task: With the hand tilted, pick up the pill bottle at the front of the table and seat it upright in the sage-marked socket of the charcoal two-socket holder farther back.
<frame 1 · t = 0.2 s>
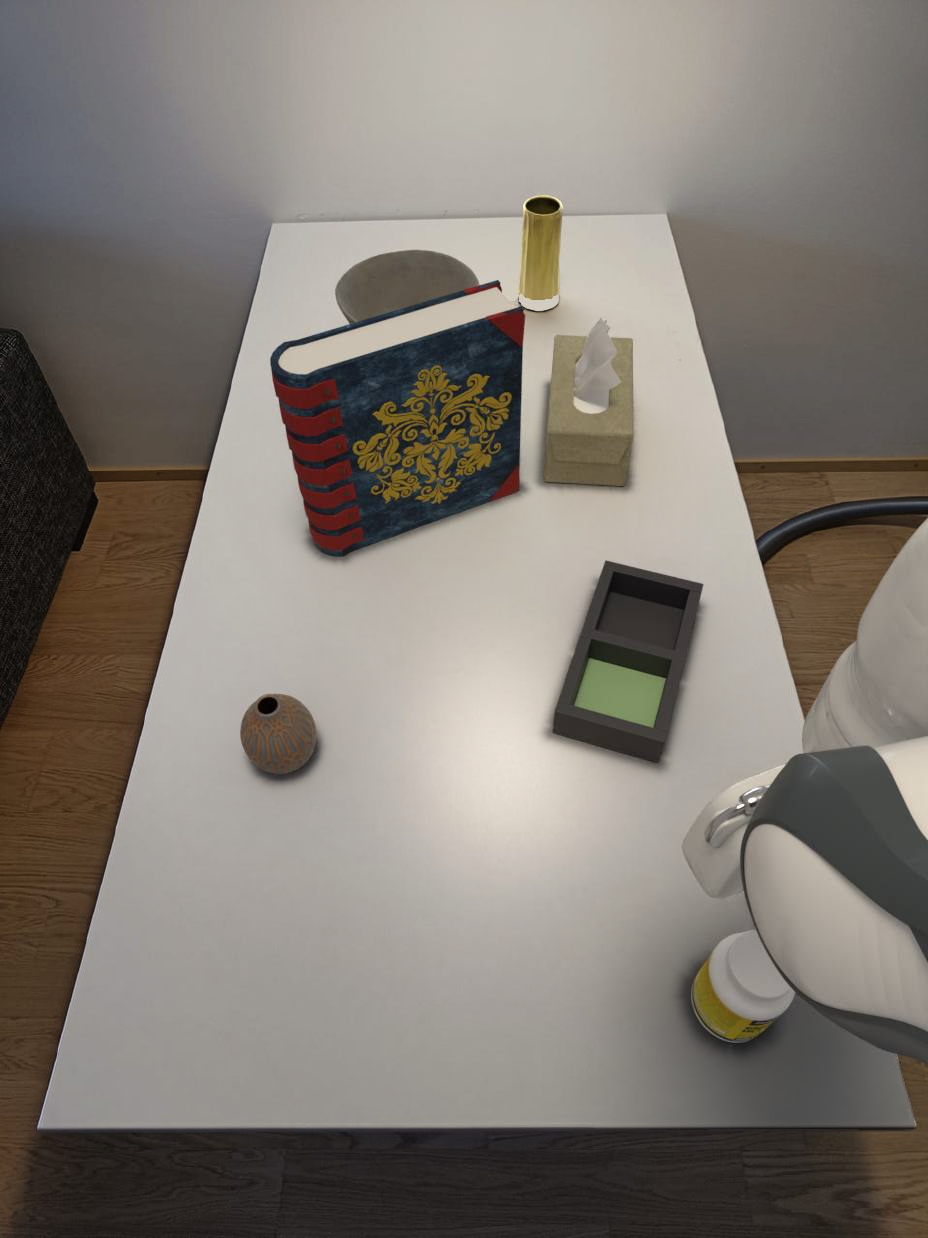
hand: (819, 849, 55), 22 cm above the table, tool pointing down, fingers open, 8 cm apart
bowl: (413, 353, 123), on the table
vase 2: (538, 301, 129), on the table
pill bottle: (728, 1003, 71), on the table
book: (414, 510, 105), on the table
tissue box: (586, 435, 112), on the table
vase: (286, 753, 86), on the table
holder: (627, 667, 90), on the table
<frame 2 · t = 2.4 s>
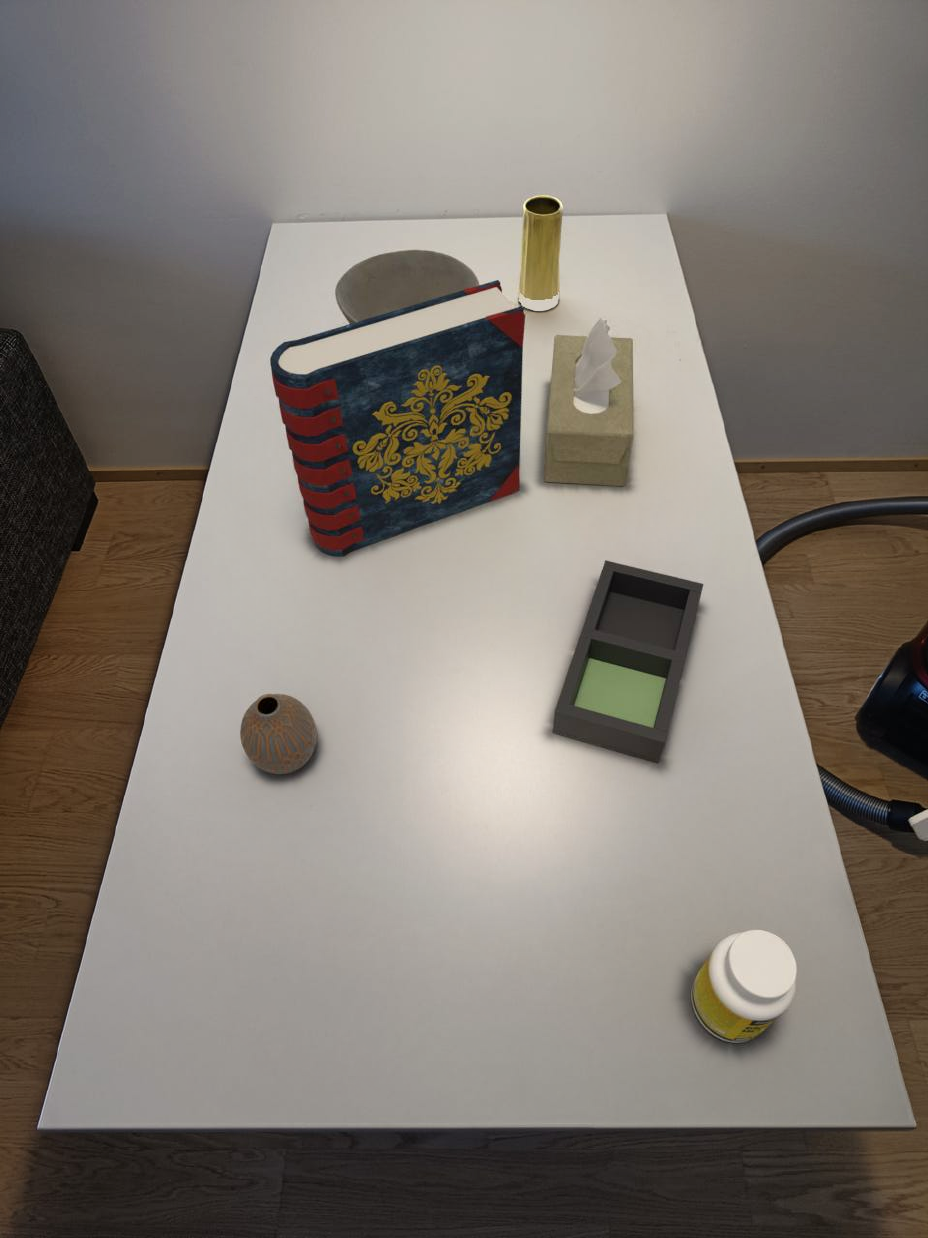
nothing on the table moved.
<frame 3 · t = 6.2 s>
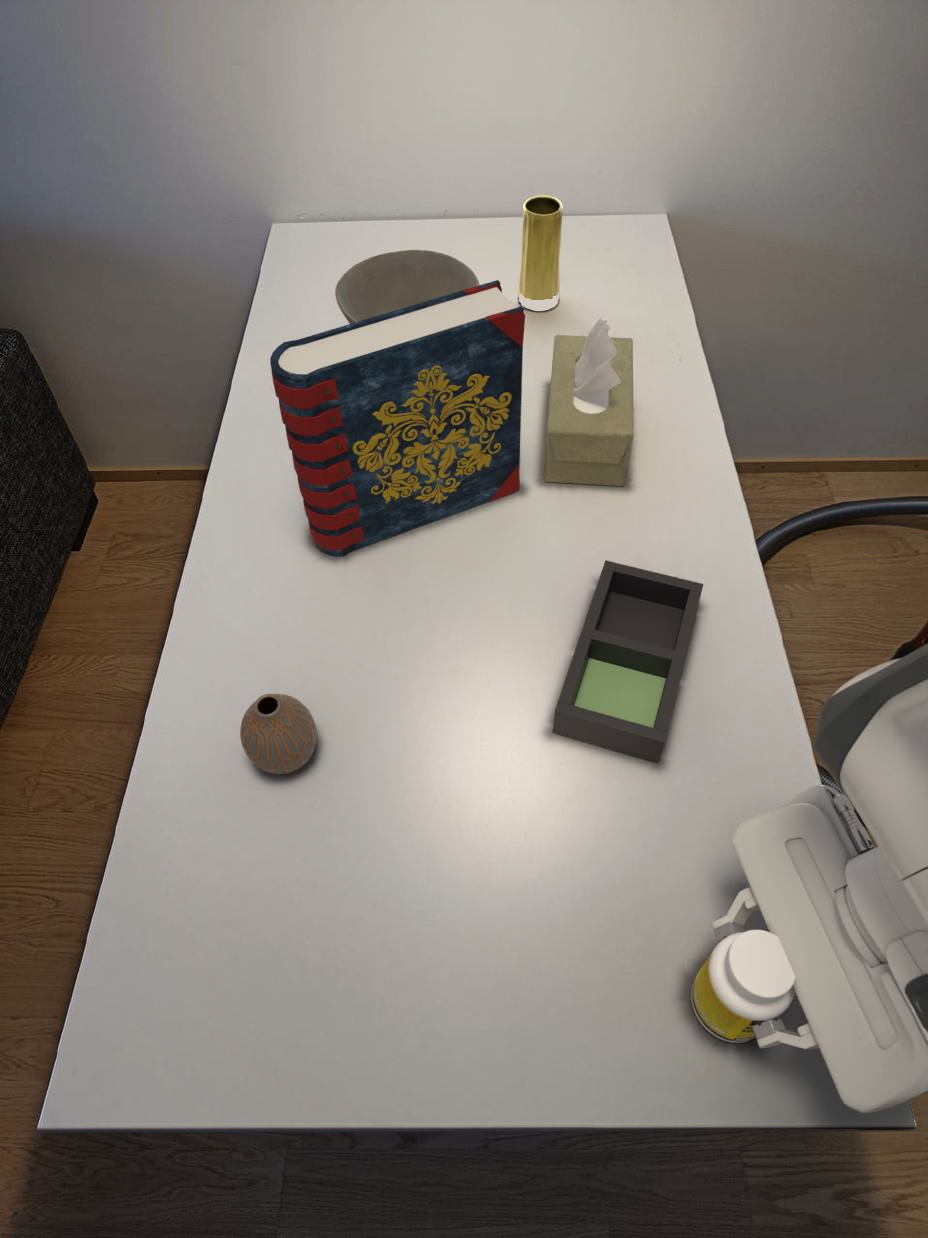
hand: (738, 984, 66), 6 cm above the table, tool tilted 45°, fingers closed on pill bottle, 6 cm apart
pill bottle: (728, 1003, 71), on the table, touching gripper
everything else where it was.
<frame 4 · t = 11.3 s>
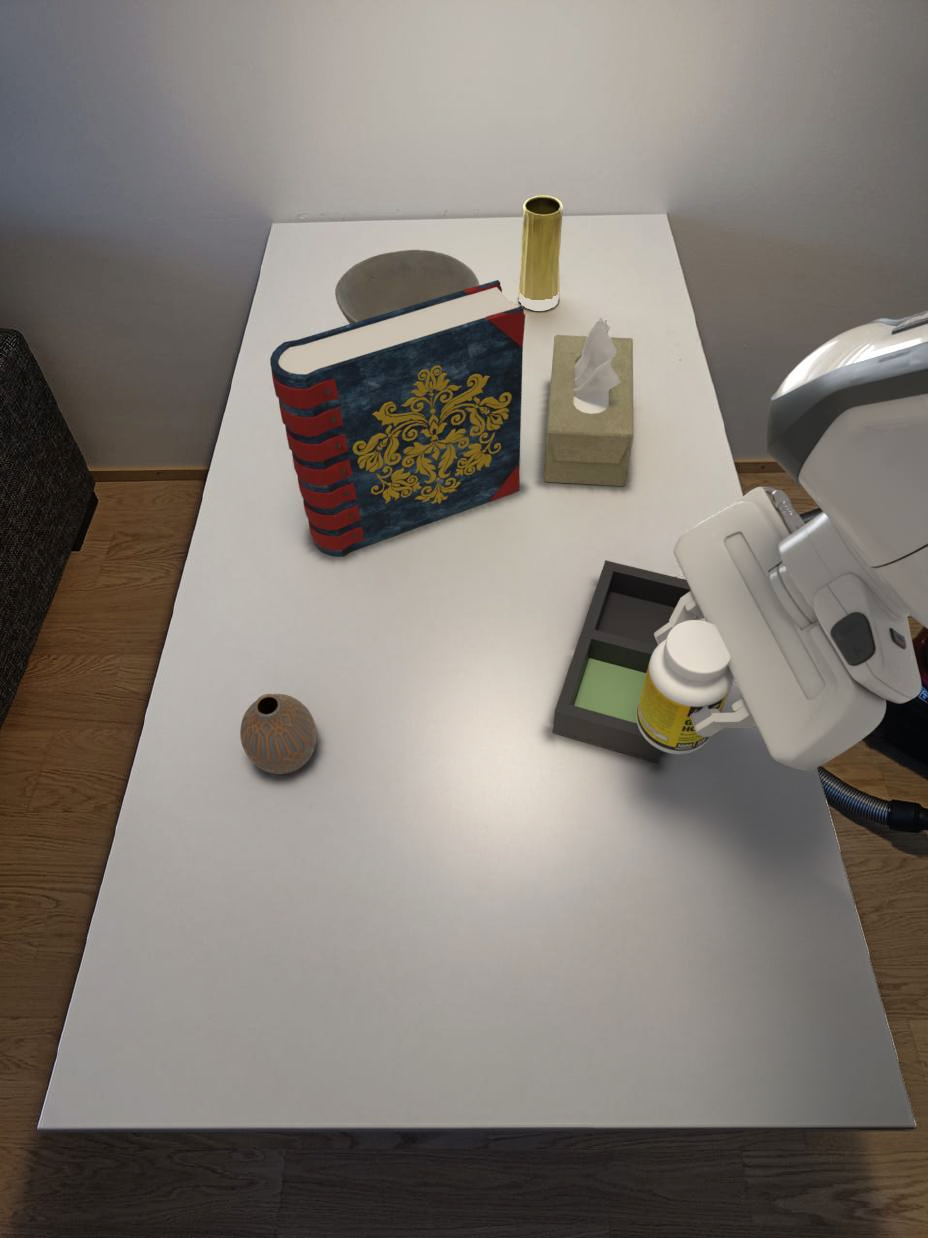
hand: (678, 685, 67), 19 cm above the table, tool tilted 45°, fingers closed on pill bottle, 6 cm apart
pill bottle: (673, 724, 72), point 13 cm above the table, touching gripper
everything else where it was.
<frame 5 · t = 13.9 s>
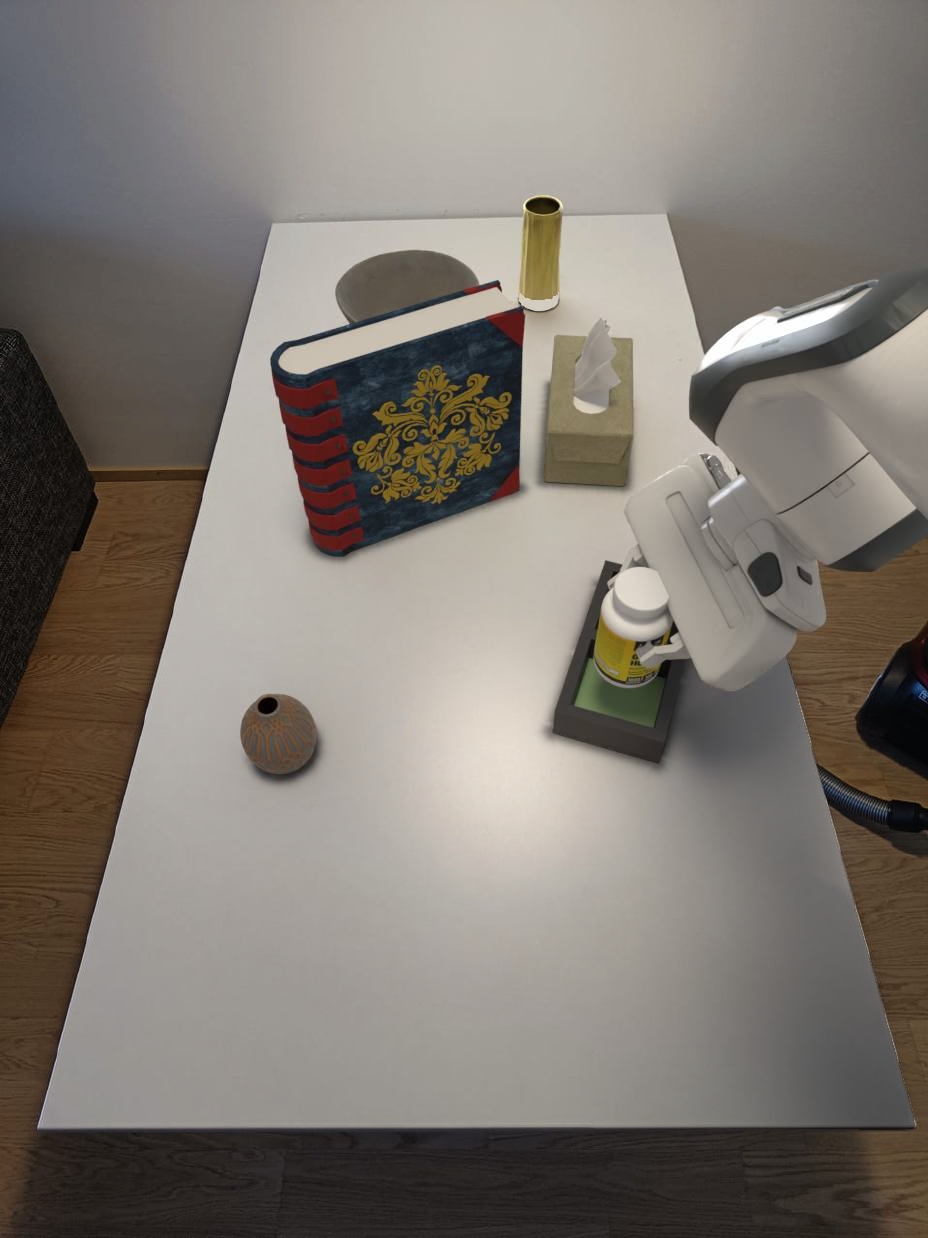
hand: (627, 625, 77), 13 cm above the table, tool tilted 45°, fingers closed on pill bottle, 6 cm apart
pill bottle: (626, 663, 82), point 7 cm above the table, touching gripper
everything else where it was.
when the fingers open (7 cm above the table, at t = 16.3 s): pill bottle stays where it is, resting on holder.
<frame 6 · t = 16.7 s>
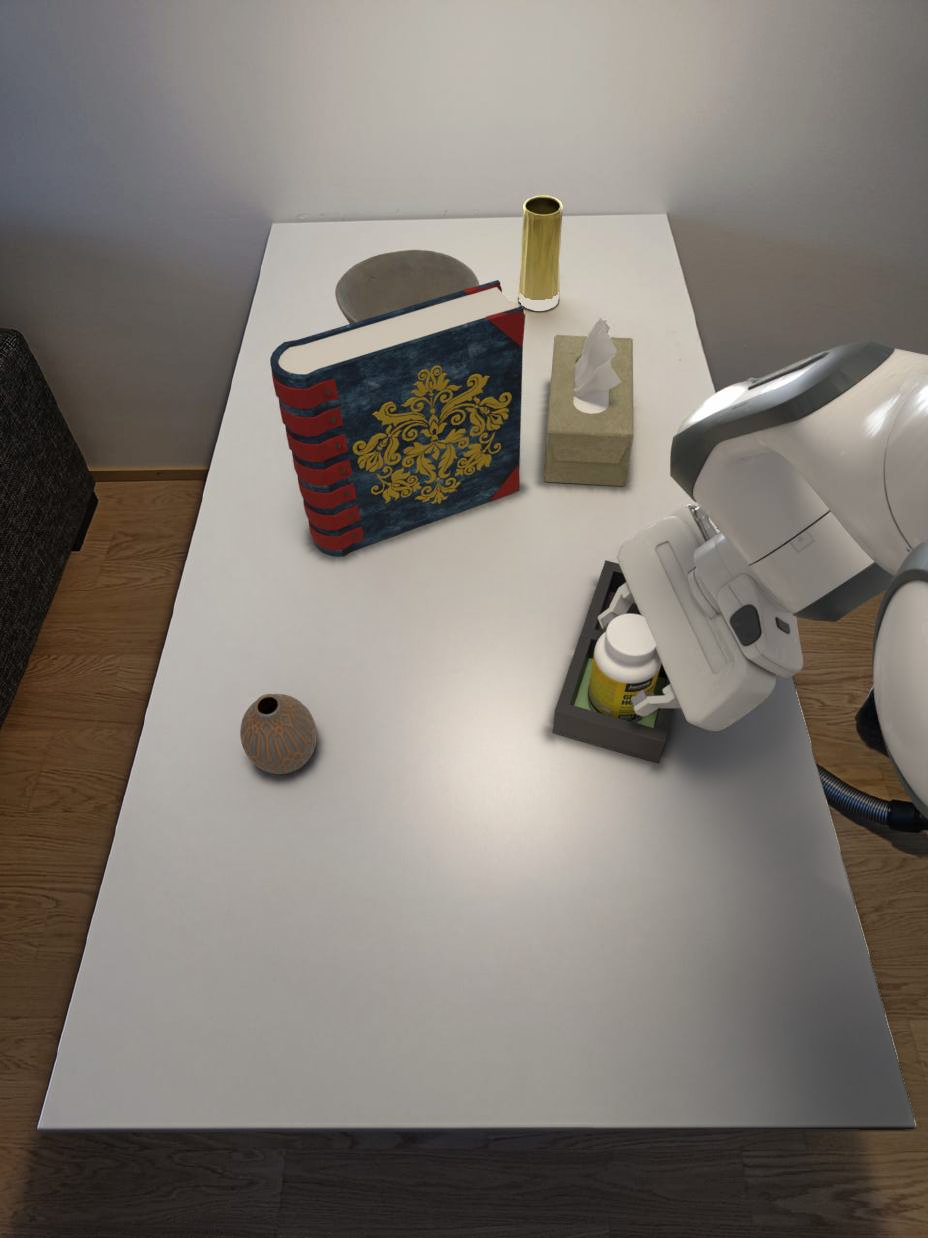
hand: (619, 666, 82), 7 cm above the table, tool tilted 45°, fingers open, 8 cm apart
pill bottle: (618, 700, 87), point 1 cm above the table, touching holder
everything else where it was.
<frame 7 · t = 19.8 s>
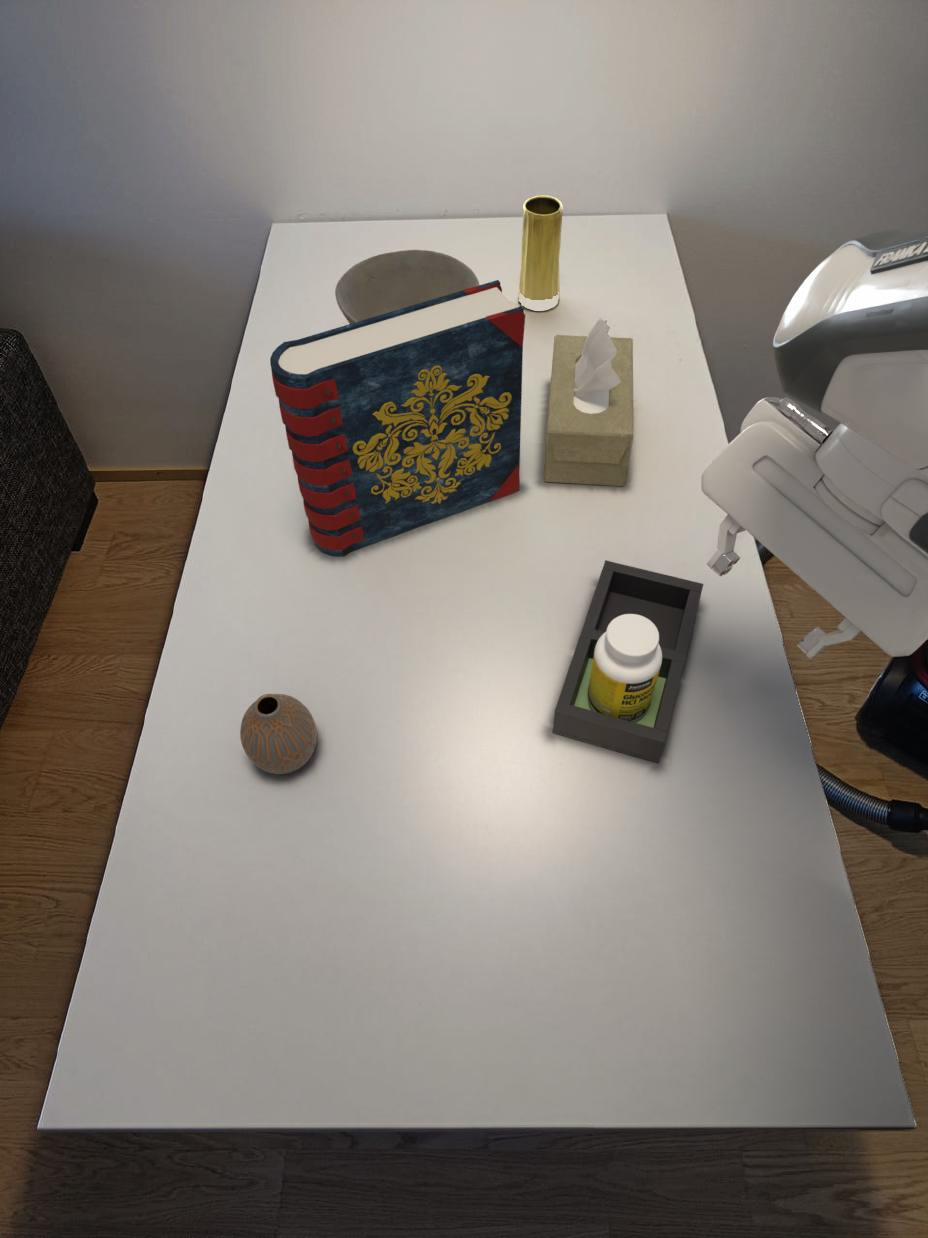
hand: (759, 609, 70), 20 cm above the table, tool tilted 30°, fingers open, 8 cm apart
nothing on the table moved.
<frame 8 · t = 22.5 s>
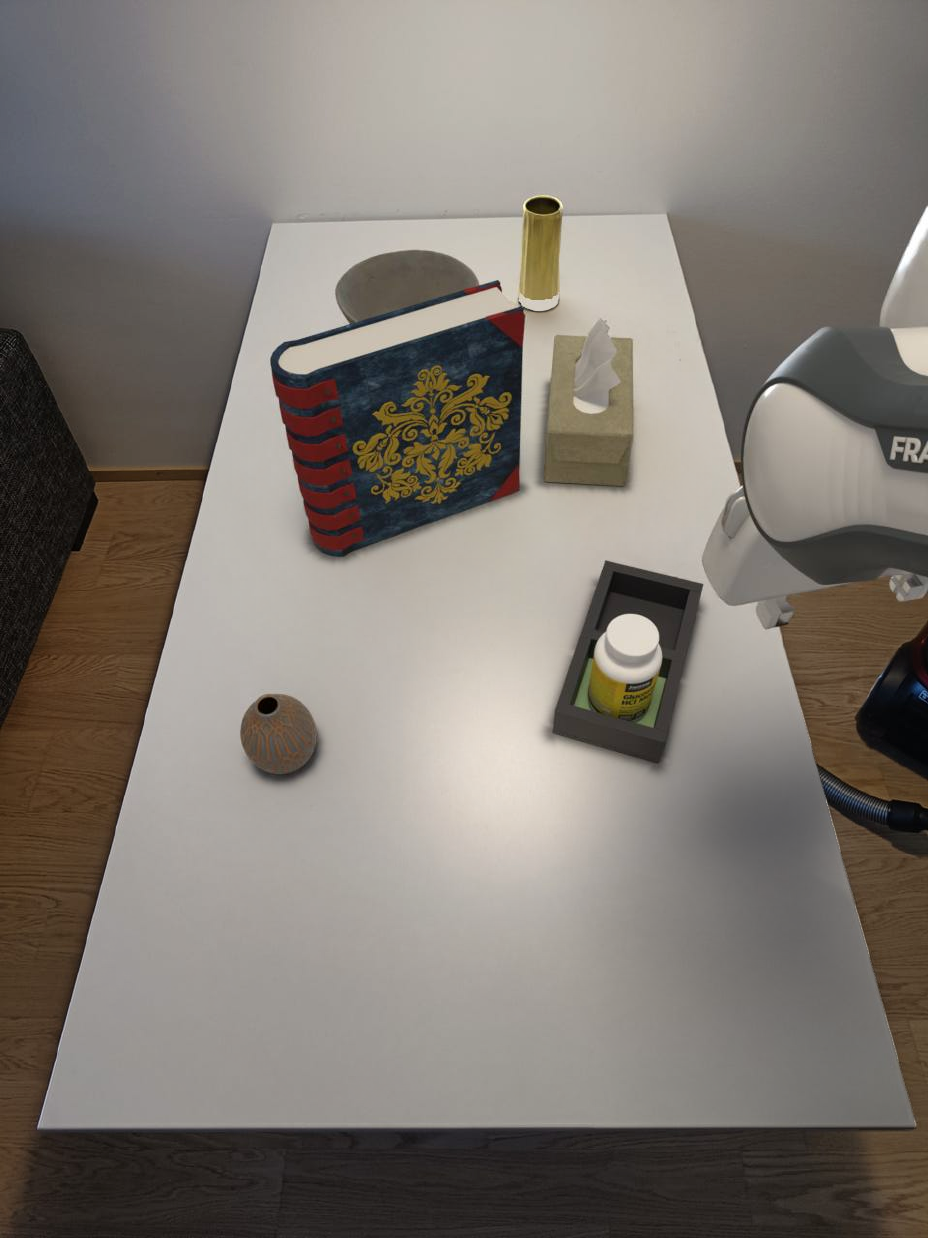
hand: (837, 606, 58), 29 cm above the table, tool pointing down, fingers open, 8 cm apart
nothing on the table moved.
at the end: pill bottle 0.0 cm from the target spot in the holder, point 0.6 cm above the holder's base; pill bottle tilted 0° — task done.
